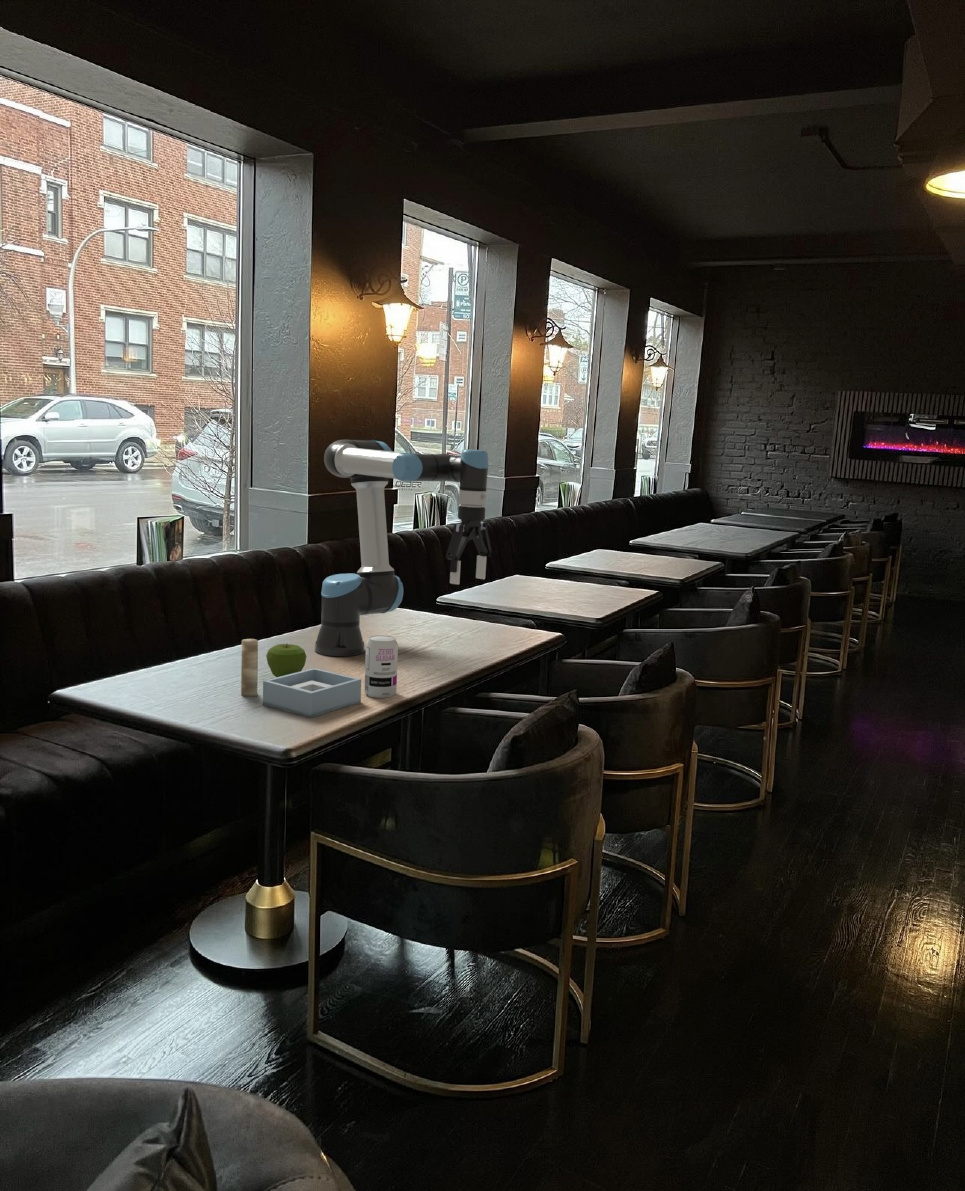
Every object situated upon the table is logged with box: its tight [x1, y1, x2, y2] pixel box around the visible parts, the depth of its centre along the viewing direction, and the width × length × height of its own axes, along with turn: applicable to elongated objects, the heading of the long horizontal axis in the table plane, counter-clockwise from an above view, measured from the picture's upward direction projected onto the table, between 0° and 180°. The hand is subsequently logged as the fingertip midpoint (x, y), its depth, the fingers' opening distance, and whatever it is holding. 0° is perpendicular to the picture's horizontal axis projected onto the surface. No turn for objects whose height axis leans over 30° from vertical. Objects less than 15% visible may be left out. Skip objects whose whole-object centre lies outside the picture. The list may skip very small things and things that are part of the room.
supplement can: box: [364, 634, 399, 699], centre depth 250 cm, size 8×8×15 cm
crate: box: [262, 667, 362, 718], centre depth 239 cm, size 16×18×6 cm
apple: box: [265, 643, 308, 678], centre depth 260 cm, size 11×10×10 cm
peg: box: [240, 638, 259, 698], centre depth 244 cm, size 4×4×14 cm
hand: (467, 581), depth 271 cm, fingers open, 13 cm apart
